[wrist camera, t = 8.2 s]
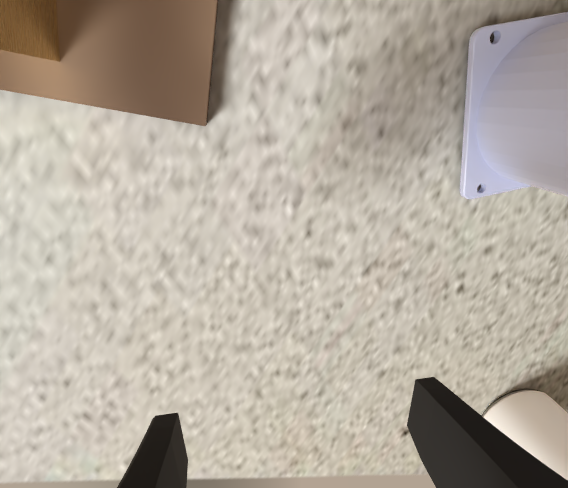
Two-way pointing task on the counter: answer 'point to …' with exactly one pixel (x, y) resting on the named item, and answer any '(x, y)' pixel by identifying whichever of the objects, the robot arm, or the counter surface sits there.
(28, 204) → the counter surface
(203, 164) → the counter surface
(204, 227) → the counter surface
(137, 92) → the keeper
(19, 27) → the link
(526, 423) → the can
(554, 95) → the robot arm
